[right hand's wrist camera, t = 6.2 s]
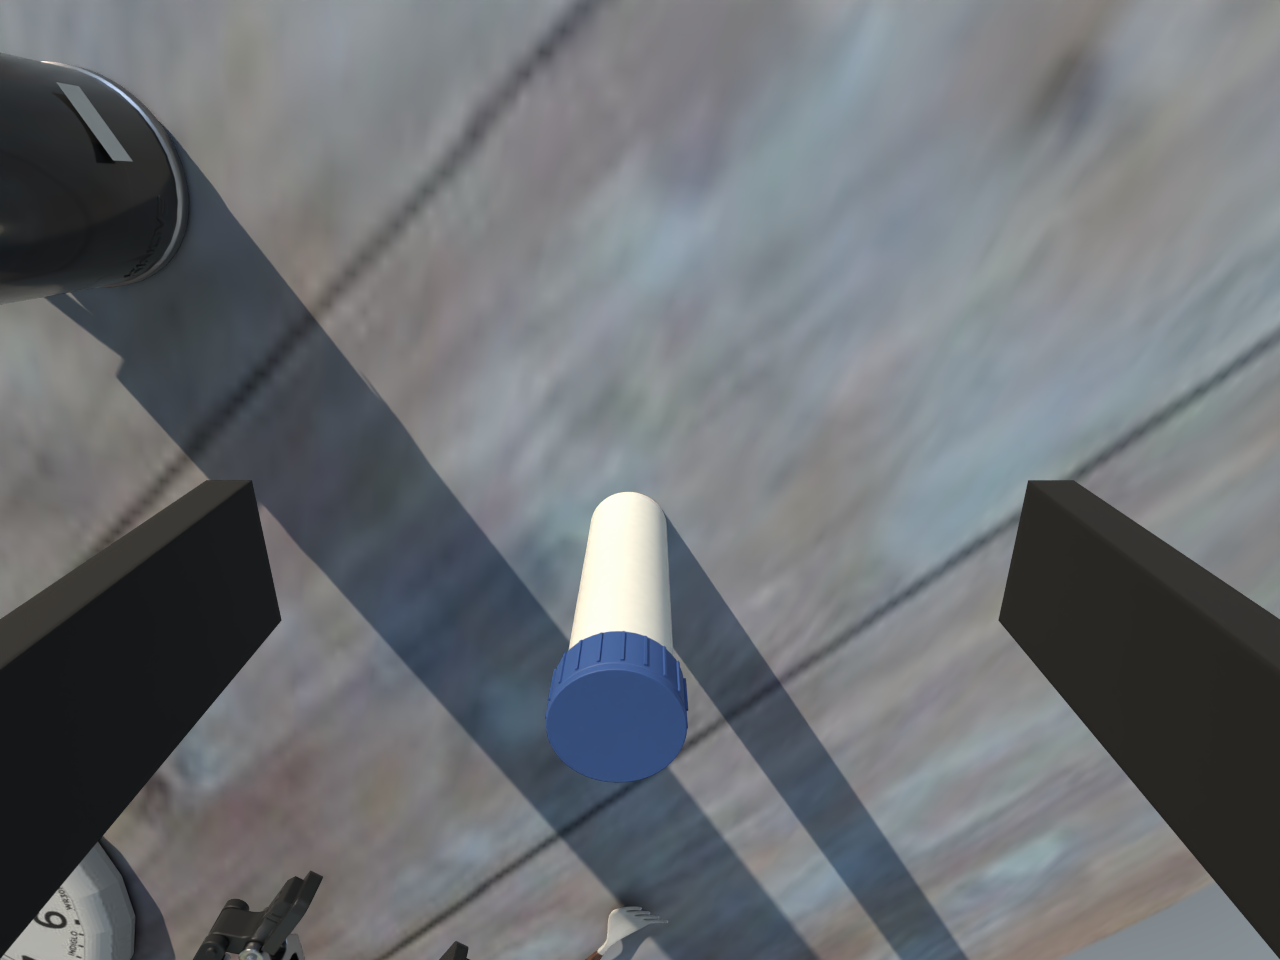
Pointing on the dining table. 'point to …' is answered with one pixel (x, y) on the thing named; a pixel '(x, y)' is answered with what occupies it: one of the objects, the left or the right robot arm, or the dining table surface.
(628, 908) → the fork
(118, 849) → the dining table surface
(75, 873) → the wall clock
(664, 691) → the lid
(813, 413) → the dining table surface
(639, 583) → the jar
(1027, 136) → the dining table surface
